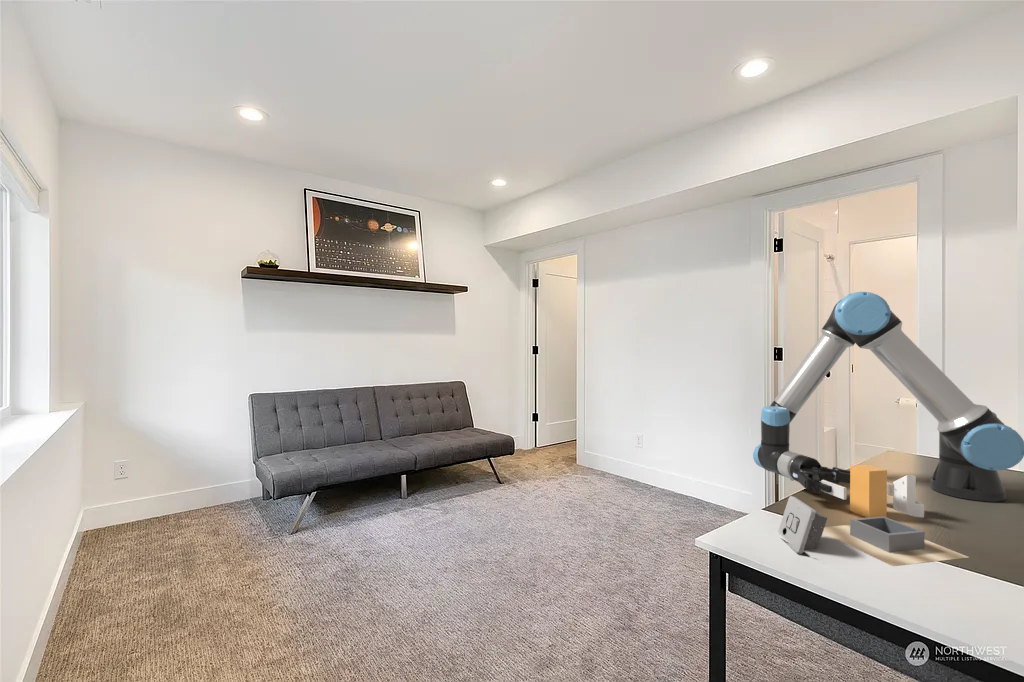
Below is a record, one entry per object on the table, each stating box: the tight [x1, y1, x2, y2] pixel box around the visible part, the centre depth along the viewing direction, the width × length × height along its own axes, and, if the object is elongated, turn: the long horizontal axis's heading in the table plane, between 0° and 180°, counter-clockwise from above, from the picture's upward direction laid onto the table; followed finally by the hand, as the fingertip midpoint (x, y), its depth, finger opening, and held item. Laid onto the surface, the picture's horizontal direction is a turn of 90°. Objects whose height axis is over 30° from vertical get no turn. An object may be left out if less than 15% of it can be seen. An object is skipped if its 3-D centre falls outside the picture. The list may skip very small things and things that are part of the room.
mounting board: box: [822, 524, 970, 567], centre depth 100 cm, size 18×18×1 cm
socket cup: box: [849, 516, 926, 553], centre depth 100 cm, size 9×9×3 cm
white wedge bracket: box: [892, 474, 925, 518], centre depth 119 cm, size 4×10×9 cm, turn 168°
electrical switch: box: [777, 495, 828, 555], centre depth 100 cm, size 9×5×9 cm, turn 175°
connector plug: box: [849, 464, 888, 518], centre depth 116 cm, size 5×5×12 cm
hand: (869, 492), depth 115 cm, fingers open, 13 cm apart
